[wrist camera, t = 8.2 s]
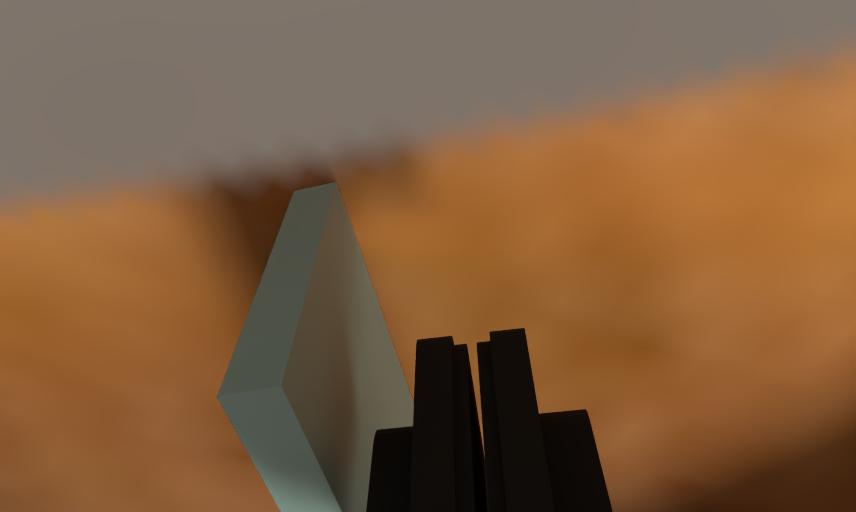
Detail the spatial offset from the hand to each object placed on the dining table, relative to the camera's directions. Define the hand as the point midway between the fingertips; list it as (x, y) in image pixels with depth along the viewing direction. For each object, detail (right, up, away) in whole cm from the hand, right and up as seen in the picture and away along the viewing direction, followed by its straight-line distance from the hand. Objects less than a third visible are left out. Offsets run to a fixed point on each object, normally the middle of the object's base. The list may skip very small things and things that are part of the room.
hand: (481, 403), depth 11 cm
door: (-1, -4, +7) cm, 8 cm away
